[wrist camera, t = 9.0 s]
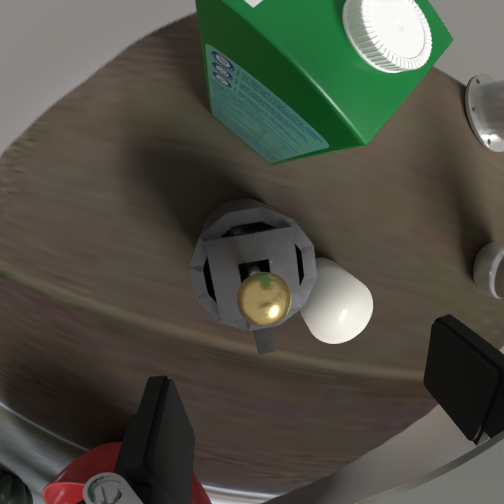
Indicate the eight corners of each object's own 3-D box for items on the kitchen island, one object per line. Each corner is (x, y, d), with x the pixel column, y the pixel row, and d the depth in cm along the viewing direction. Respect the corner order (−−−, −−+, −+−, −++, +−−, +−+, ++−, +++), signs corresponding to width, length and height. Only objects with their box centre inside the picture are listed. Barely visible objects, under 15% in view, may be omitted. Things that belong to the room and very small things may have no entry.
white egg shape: (342, 252, 36) (372, 272, 29) (345, 305, 38) (372, 334, 30) (286, 263, 36) (304, 286, 28) (292, 317, 38) (309, 350, 30)
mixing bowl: (95, 491, 44) (82, 545, 29) (47, 398, 37) (9, 462, 22) (226, 503, 47) (230, 563, 32) (218, 414, 40) (222, 500, 25)
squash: (-22, 462, 35) (-28, 506, 26) (30, 493, 38) (23, 537, 29) (-4, 457, 46) (-11, 497, 36) (41, 483, 49) (34, 522, 40)
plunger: (268, 212, 32) (316, 246, 16) (276, 267, 33) (324, 345, 17) (210, 222, 31) (201, 267, 16) (221, 277, 33) (223, 365, 17)
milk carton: (272, 166, 33) (396, 143, 9) (209, 113, 31) (189, -25, 7) (323, 110, 32) (483, 27, 8) (263, 59, 30) (336, -100, 6)
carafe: (278, 192, 34) (311, 200, 21) (292, 294, 37) (325, 348, 24) (193, 206, 33) (177, 223, 21) (213, 308, 36) (212, 370, 24)
